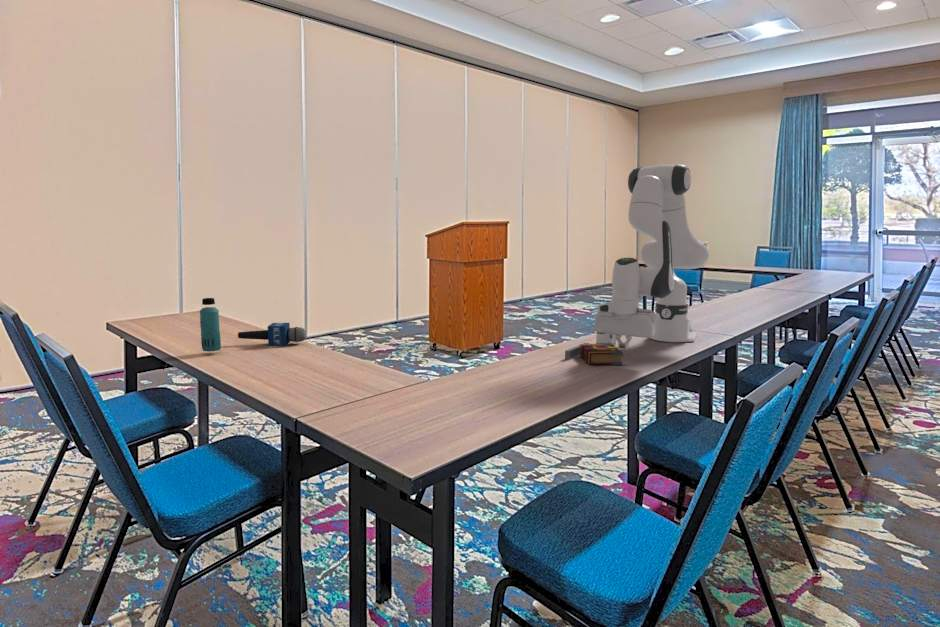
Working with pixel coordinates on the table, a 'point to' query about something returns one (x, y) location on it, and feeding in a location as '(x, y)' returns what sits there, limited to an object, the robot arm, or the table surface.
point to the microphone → (276, 334)
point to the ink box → (605, 338)
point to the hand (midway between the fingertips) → (623, 348)
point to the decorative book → (601, 354)
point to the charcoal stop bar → (573, 352)
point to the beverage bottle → (210, 326)
